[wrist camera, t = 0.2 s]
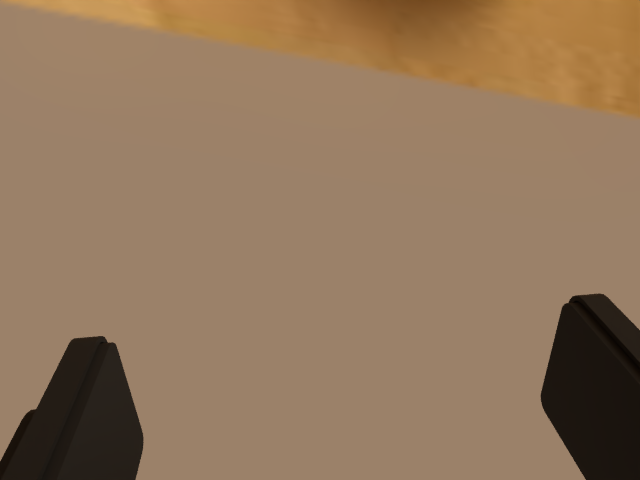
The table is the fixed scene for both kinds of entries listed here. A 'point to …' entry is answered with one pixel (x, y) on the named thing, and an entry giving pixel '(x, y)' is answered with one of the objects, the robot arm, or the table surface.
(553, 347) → the robot arm
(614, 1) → the table surface
